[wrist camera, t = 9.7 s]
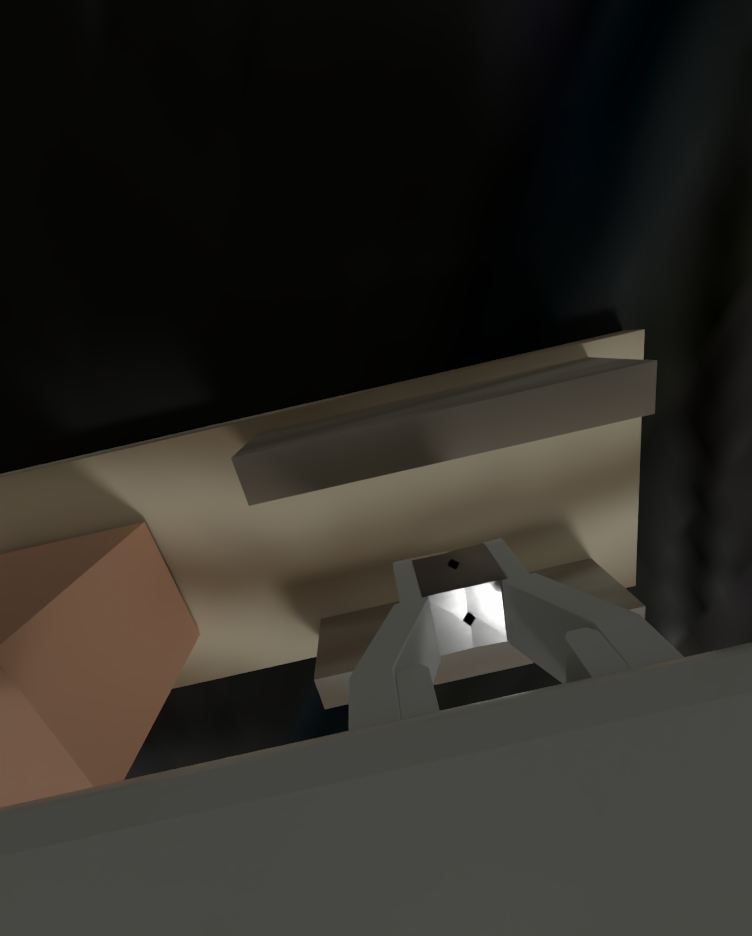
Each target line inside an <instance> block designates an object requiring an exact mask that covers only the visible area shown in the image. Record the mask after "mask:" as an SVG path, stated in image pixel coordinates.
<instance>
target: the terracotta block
mask: <svg viewBox="0 0 752 936" xmlns="http://www.w3.org/2000/svg"><path fill="white" fill-rule="evenodd" d="M199 636H200V633H199V631H198V629H197V627H196V625H195V623H194V621H193V619H192V617H191V615H190V613H189V611H188V608H187V606H186V604H185V602H184V600H183V598H182V596H181V594H180V592H179V590H178V588H177V586H176V584H175V582H174V580H173V578H172V576H171V574H170V572H169V570H168V568H167V566H166V564H165V562H164V560H163V558H162V556H161V554H160V552H159V550H158V548H157V546H156V543H155V541H154V539H153V537H152V535H151V533H150V531H149V529H148V527H147V525H146V523H145V522H141V523H137V524H132V525H128V526H123V527H119V528H115V529H110V530H106V531H101V532H97V533H93V534H88V535H84V536H80V537H75V538H71V539H66V540H62V541H58V542H53V543H49V544H44V545H40V546H36V547H31V548H27V549H22V550H18V551H14V552H9V553H5V554H0V807H4V806H9V805H13V804H18V803H23V802H27V801H32V800H36V799H41V798H45V797H50V796H54V795H59V794H64V793H68V792H73V791H77V790H82V789H86V788H91V787H96V786H100V785H105V784H109V783H114V782H118V781H123V780H124V779H125V777H126V775H127V773H128V771H129V769H130V767H131V765H132V763H133V761H134V760H135V758H136V756H137V754H138V752H139V750H140V748H141V746H142V744H143V742H144V740H145V739H146V737H147V735H148V733H149V731H150V729H151V727H152V725H153V723H154V721H155V720H156V718H157V716H158V714H159V712H160V710H161V708H162V706H163V704H164V702H165V700H166V699H167V697H168V695H169V693H170V691H171V689H172V687H173V685H174V683H175V681H176V679H177V678H178V676H179V674H180V672H181V670H182V668H183V666H184V664H185V662H186V660H187V658H188V657H189V655H190V653H191V651H192V649H193V647H194V645H195V643H196V641H197V639H198V637H199Z"/></svg>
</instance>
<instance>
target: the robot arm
mask: <svg viewBox="0 0 752 936" xmlns="http://www.w3.org/2000/svg"><path fill="white" fill-rule="evenodd" d="M393 569H394V575H395V580H396V586H397V591H398V596H399V602H400V603H397V604H394V606H393V607H392V609H391V611H390V612H389V614H388V615H387V617H386V619H385V620H384V622H383V624H382V625H381V627H380V628H379V630H378V632H377V633H376V635H375V637H374V638H373V640H372V641H371V643H370V645H369V646H368V648H367V650H366V651H365V653H364V654H363V656H362V658H361V659H360V661H359V663H358V664H357V666H356V668H355V669H354V671H353V672H352V674H351V676H350V677H349V731H346V732H342V733H337V734H332V735H328V736H323V737H319V738H314V739H310V740H305V741H301V742H296V743H291V744H287V745H282V746H278V747H273V748H269V749H264V750H260V751H255V752H251V753H246V754H241V755H237V756H232V757H228V758H223V759H219V760H214V761H210V762H205V763H200V764H196V765H191V766H187V767H182V768H178V769H173V770H168V771H164V772H159V773H155V774H150V775H146V776H141V777H137V778H132V779H127V780H123V781H118V782H114V783H109V784H105V785H100V786H96V787H91V788H86V789H82V790H77V791H73V792H68V793H64V794H59V795H54V796H50V797H45V798H41V799H36V800H32V801H27V802H23V803H18V804H13V805H9V806H4V807H0V936H752V642H751V643H747V644H742V645H738V646H733V647H729V648H724V649H720V650H715V651H711V652H706V653H702V654H697V655H693V656H688V657H683V656H682V655H681V654H680V653H679V652H678V651H677V650H676V649H675V648H674V647H673V646H672V645H671V644H670V643H669V642H668V641H667V640H666V639H665V638H663V637H662V636H661V635H660V634H659V633H658V632H657V631H656V630H655V629H654V628H653V627H652V626H651V625H650V624H649V623H648V622H647V621H646V620H645V619H644V618H643V617H641V616H640V615H639V614H637V613H635V612H632V611H630V610H627V609H625V608H622V607H620V606H617V605H615V604H612V603H610V602H607V601H605V600H602V599H600V598H597V597H595V596H592V595H590V594H587V593H585V592H582V591H580V590H577V589H575V588H572V587H570V586H567V585H565V584H562V583H560V582H557V581H555V580H552V579H550V578H547V577H544V576H542V575H539V574H537V573H532V574H529V572H528V571H527V570H526V569H525V567H524V566H523V565H522V563H521V562H520V561H519V560H518V558H517V557H516V556H515V554H514V553H513V552H512V551H511V549H510V548H509V547H508V545H507V544H506V543H505V542H504V540H503V539H500V538H499V539H495V540H491V541H487V542H483V543H481V544H477V545H473V546H469V547H464V548H460V549H456V550H452V551H448V552H447V551H446V552H441V553H436V554H431V555H426V556H421V557H416V558H411V559H406V560H402V561H397V562H393ZM505 641H508V643H509V644H511V645H512V646H513V647H515V648H516V649H517V650H519V651H520V652H521V653H523V654H524V655H525V656H527V657H528V658H529V659H531V660H532V661H533V662H535V663H536V664H537V665H539V666H540V667H542V668H543V669H544V670H546V671H547V672H548V673H550V674H551V675H552V676H554V677H555V678H556V679H558V680H559V681H560V682H562V683H563V684H560V685H555V686H550V687H546V688H541V689H537V690H532V691H528V692H523V693H519V694H514V695H510V696H505V697H501V698H496V699H492V700H487V701H482V702H478V703H473V704H469V705H464V706H460V707H455V708H451V709H446V710H442V711H439V707H438V703H437V699H436V695H435V691H434V687H433V683H434V680H435V676H436V673H437V670H438V666H439V663H440V660H441V656H442V655H446V654H450V653H454V652H458V651H462V650H466V649H470V648H474V647H479V646H484V645H490V644H495V643H500V642H505Z"/></svg>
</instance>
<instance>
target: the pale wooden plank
mask: <svg viewBox="0 0 752 936" xmlns="http://www.w3.org/2000/svg"><path fill="white" fill-rule="evenodd" d="M644 330H645V329H642V330H624V331H619V332H615V333H611V334H606V335H602V336H598V337H593V338H589V339H585V340H580V341H576V342H572V343H567V344H563V345H559V346H554V347H550V348H546V349H541V350H537V351H532V352H528V353H524V354H519V355H515V356H511V357H506V358H502V359H498V360H493V361H489V362H485V363H480V364H476V365H472V366H467V367H463V368H459V369H454V370H450V371H446V372H441V373H437V374H433V375H428V376H424V377H420V378H415V379H411V380H406V381H402V382H398V383H393V384H389V385H385V386H380V387H376V388H372V389H367V390H363V391H359V392H354V393H350V394H346V395H341V396H337V397H333V398H328V399H324V400H320V401H315V402H311V403H307V404H302V405H298V406H293V407H289V408H285V409H280V410H276V411H272V412H267V413H263V414H259V415H254V416H250V417H246V418H241V419H237V420H233V421H228V422H224V423H220V424H215V425H211V426H207V427H202V428H198V429H194V430H189V431H185V432H181V433H176V434H172V435H167V436H163V437H159V438H154V439H150V440H146V441H141V442H137V443H133V444H128V445H124V446H120V447H115V448H111V449H107V450H102V451H98V452H94V453H89V454H85V455H81V456H76V457H72V458H68V459H63V460H59V461H55V462H50V463H46V464H41V465H37V466H33V467H28V468H24V469H20V470H15V471H11V472H7V473H2V474H0V554H5V553H9V552H14V551H18V550H22V549H27V548H31V547H36V546H40V545H44V544H49V543H53V542H58V541H62V540H66V539H71V538H75V537H80V536H84V535H88V534H93V533H97V532H101V531H106V530H110V529H115V528H119V527H123V526H128V525H132V524H137V523H141V522H145V523H146V525H147V527H148V529H149V531H150V533H151V535H152V537H153V539H154V541H155V543H156V546H157V548H158V550H159V552H160V554H161V556H162V558H163V560H164V562H165V564H166V566H167V568H168V570H169V572H170V574H171V576H172V578H173V580H174V582H175V584H176V586H177V588H178V590H179V592H180V594H181V596H182V598H183V600H184V602H185V604H186V606H187V608H188V611H189V613H190V615H191V617H192V619H193V621H194V623H195V625H196V627H197V629H198V631H199V633H200V636H199V637H198V639H197V641H196V643H195V645H194V647H193V649H192V651H191V653H190V655H189V657H188V658H187V660H186V662H185V664H184V666H183V668H182V670H181V672H180V674H179V676H178V678H177V679H176V681H175V683H174V685H173V687H172V689H173V688H178V687H182V686H187V685H191V684H196V683H200V682H205V681H209V680H214V679H218V678H223V677H227V676H232V675H236V674H241V673H245V672H250V671H254V670H259V669H263V668H268V667H272V666H277V665H281V664H286V663H290V662H295V661H299V660H303V659H308V658H312V657H317V658H316V667H315V675H314V681H315V684H316V686H317V689H318V692H319V694H320V697H321V700H322V702H323V705H324V708H325V709H328V708H332V707H337V706H341V705H346V704H349V677H350V676H351V674H352V672H353V671H354V669H355V668H356V666H357V664H358V663H359V661H360V659H361V658H362V656H363V654H364V653H365V651H366V650H367V648H368V646H369V645H370V643H371V641H372V640H373V638H374V637H375V635H376V633H377V632H378V630H379V628H380V627H381V625H382V624H383V622H384V620H385V619H386V617H387V615H388V614H389V612H390V611H391V609H392V607H393V606H394V604H397V603H400V602H399V596H398V591H397V586H396V580H395V575H394V569H393V562H397V561H402V560H406V559H411V558H416V557H421V556H426V555H431V554H436V553H441V552H446V551H447V552H448V551H452V550H456V549H460V548H464V547H469V546H473V545H477V544H481V543H483V542H487V541H491V540H495V539H499V538H500V539H503V540H504V542H505V543H506V544H507V545H508V547H509V548H510V549H511V551H512V552H513V553H514V554H515V556H516V557H517V558H518V560H519V561H520V562H521V563H522V565H523V566H524V567H525V569H526V570H527V571H528V572H529V574H532V573H537V574H539V575H542V576H544V577H547V578H550V579H552V580H555V581H557V582H560V583H562V584H565V585H567V586H570V587H572V588H575V589H577V590H580V591H582V592H585V593H587V594H590V595H592V596H595V597H597V598H600V599H602V600H605V601H607V602H610V603H612V604H615V605H617V606H620V607H622V608H625V609H627V610H630V611H632V612H635V613H637V614H639V615H640V616H641V617H643V618H644V619H645V606H644V605H643V604H642V603H641V602H640V601H639V600H638V599H637V598H635V597H634V596H633V595H632V594H631V593H630V592H629V591H628V590H626V589H625V588H627V587H631V586H635V584H636V556H637V528H638V499H639V471H640V443H641V417H642V416H646V415H651V414H655V394H656V373H657V360H643V358H644ZM531 663H535V662H533V661H532V660H531V659H529V658H528V657H527V656H525V655H524V654H523V653H521V652H520V651H519V650H517V649H516V648H515V647H513V646H512V645H511V644H509V643H508V641H505V642H500V643H495V644H490V645H484V646H479V647H474V648H470V649H466V650H462V651H458V652H454V653H450V654H446V655H442V656H441V660H440V663H439V666H438V670H437V673H436V676H435V680H434V683H433V685H436V684H441V683H445V682H450V681H454V680H459V679H463V678H468V677H472V676H477V675H481V674H486V673H490V672H495V671H500V670H504V669H509V668H513V667H518V666H522V665H527V664H531Z"/></svg>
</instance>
